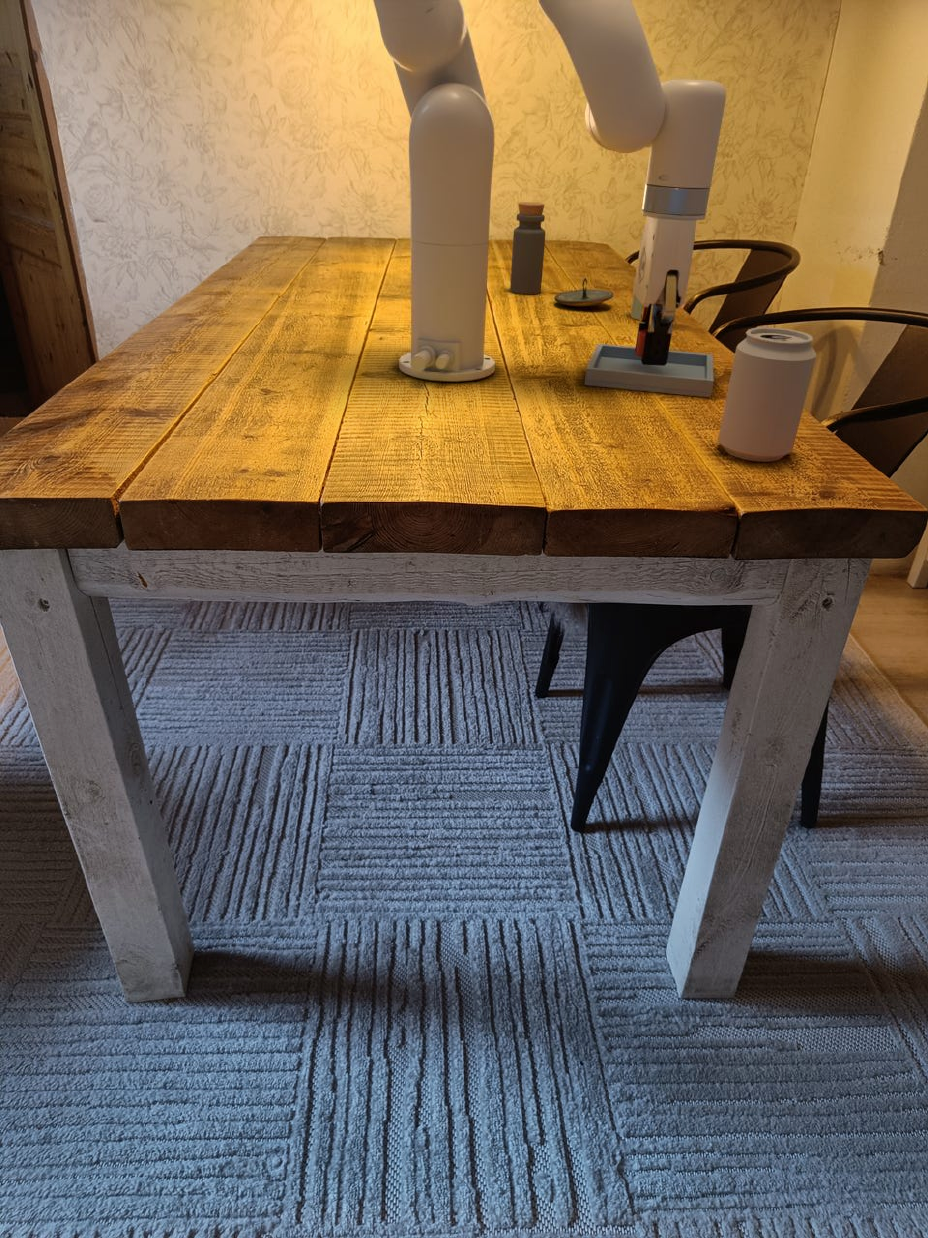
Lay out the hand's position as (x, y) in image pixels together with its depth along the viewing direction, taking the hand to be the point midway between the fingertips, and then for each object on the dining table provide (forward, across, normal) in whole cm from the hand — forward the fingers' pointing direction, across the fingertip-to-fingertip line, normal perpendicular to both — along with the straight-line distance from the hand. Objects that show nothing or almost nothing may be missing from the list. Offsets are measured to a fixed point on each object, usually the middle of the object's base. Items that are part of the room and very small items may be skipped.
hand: (650, 358), depth 108 cm
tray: (+2, 0, 0) cm, 2 cm away
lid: (+3, -45, -4) cm, 45 cm away
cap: (0, 0, 0) cm, 0 cm away
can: (+3, +27, +6) cm, 28 cm away
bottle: (+3, -56, -13) cm, 58 cm away
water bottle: (+2, -38, +7) cm, 38 cm away
